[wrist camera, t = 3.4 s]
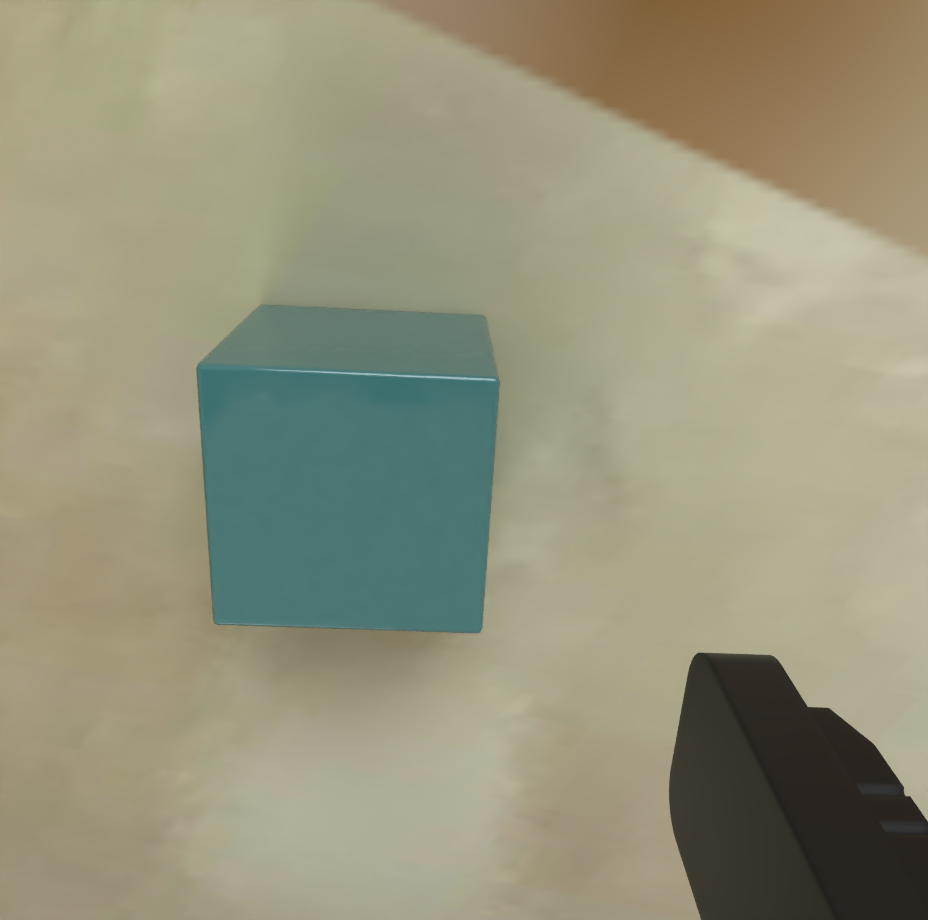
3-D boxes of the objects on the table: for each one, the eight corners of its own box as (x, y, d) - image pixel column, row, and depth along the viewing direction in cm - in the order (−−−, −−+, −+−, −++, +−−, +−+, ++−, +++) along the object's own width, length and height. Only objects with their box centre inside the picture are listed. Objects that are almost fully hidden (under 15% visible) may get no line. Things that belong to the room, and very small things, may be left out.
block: (257, 303, 16) (194, 363, 12) (486, 314, 16) (500, 378, 12) (266, 511, 18) (212, 626, 14) (474, 519, 18) (482, 635, 14)
